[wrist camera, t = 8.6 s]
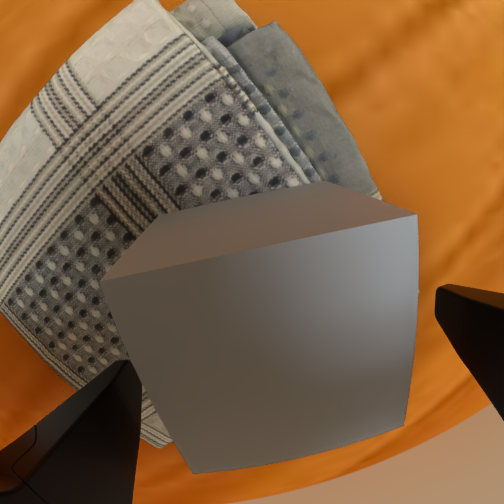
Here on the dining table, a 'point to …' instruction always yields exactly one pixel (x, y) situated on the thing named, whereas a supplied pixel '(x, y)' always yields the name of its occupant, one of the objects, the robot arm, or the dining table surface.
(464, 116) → the dining table surface
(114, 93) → the dish towel
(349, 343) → the slate block
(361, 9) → the dining table surface
